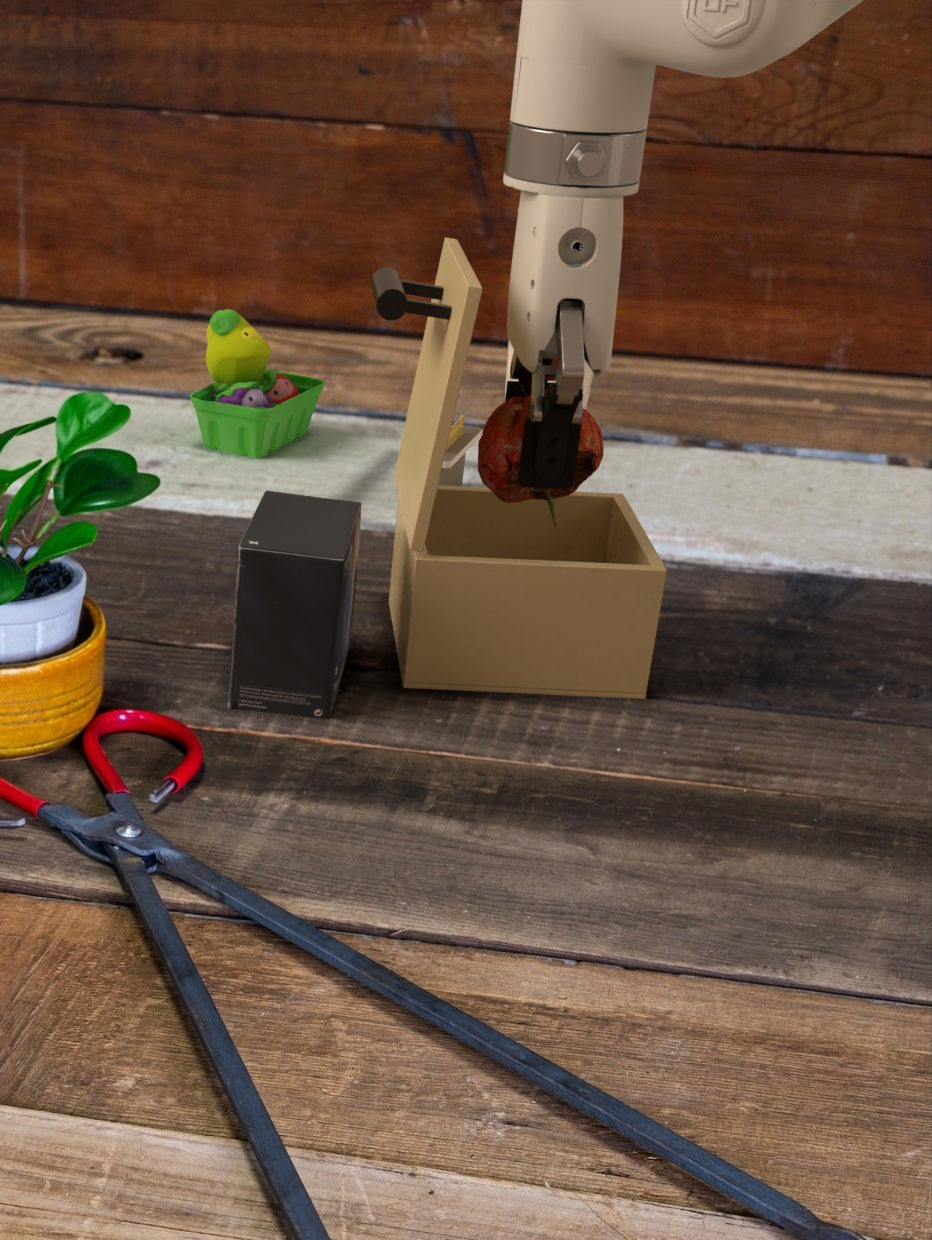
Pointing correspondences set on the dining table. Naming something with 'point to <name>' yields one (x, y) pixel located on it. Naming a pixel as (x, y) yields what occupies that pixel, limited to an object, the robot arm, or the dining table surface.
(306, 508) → the small box
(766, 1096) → the dining table surface
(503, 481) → the red round fruit
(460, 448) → the platform
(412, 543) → the lid
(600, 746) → the dining table surface
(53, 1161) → the dining table surface
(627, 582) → the tan open box
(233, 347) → the fruit basket
